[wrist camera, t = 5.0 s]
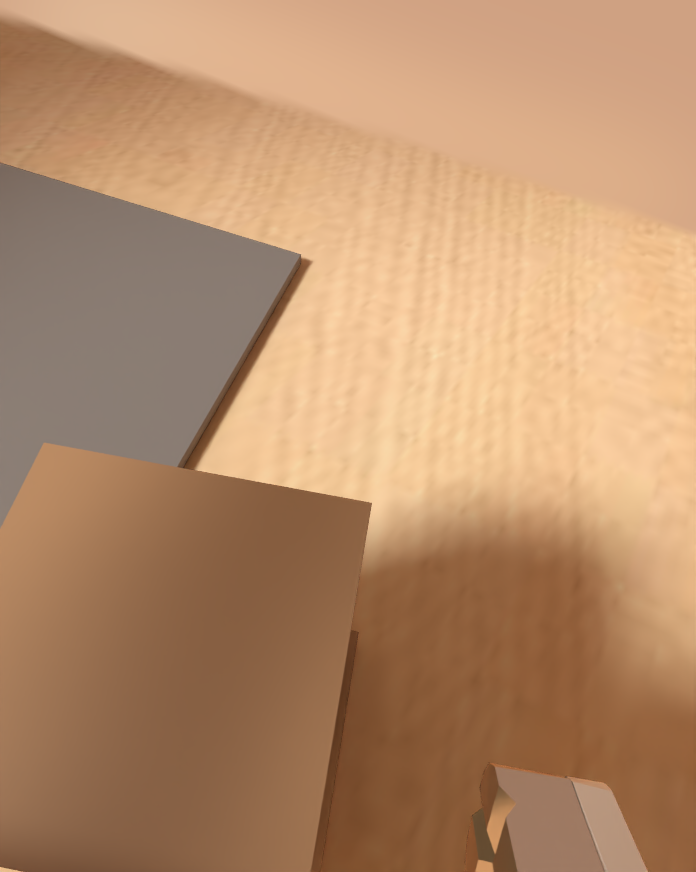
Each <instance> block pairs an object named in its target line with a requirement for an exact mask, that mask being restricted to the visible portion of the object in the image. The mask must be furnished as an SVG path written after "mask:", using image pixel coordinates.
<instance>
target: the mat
mask: <svg viewBox="0 0 696 872" xmlns="http://www.w3.org/2000/svg"><path fill="white" fill-rule="evenodd" d="M300 264H301V254H298V253H294V252H291V251H288V250H284V249H281V248H278V247H275V246H271V245H268V244H265V243H262V242H258V241H255V240H252V239H248V238H245V237H242V236H239V235H235V234H232V233H229V232H226V231H222V230H219V229H216V228H212V227H209V226H206V225H203V224H199V223H196V222H193V221H190V220H186V219H183V218H180V217H176V216H173V215H170V214H167V213H163V212H160V211H157V210H153V209H150V208H147V207H144V206H140V205H137V204H134V203H131V202H127V201H124V200H121V199H117V198H114V197H111V196H108V195H104V194H101V193H98V192H95V191H91V190H88V189H85V188H81V187H78V186H75V185H72V184H68V183H65V182H62V181H59V180H55V179H52V178H49V177H45V176H42V175H39V174H36V173H32V172H29V171H26V170H23V169H19V168H16V167H13V166H9V165H6V164H3V163H0V528H1V526H2V524H3V522H4V520H5V518H6V516H7V514H8V512H9V510H10V509H11V507H12V505H13V503H14V501H15V499H16V497H17V495H18V493H19V491H20V489H21V487H22V485H23V483H24V481H25V479H26V477H27V475H28V473H29V471H30V469H31V467H32V465H33V463H34V461H35V459H36V457H37V455H38V453H39V451H40V449H41V447H42V445H43V443H49V444H55V445H60V446H66V447H71V448H76V449H82V450H87V451H93V452H98V453H104V454H109V455H114V456H120V457H125V458H131V459H136V460H142V461H147V462H152V463H158V464H163V465H169V466H174V467H179V468H183V467H184V465H185V464H186V462H187V460H188V458H189V457H190V455H191V453H192V451H193V450H194V448H195V446H196V444H197V443H198V441H199V439H200V437H201V436H202V434H203V432H204V431H205V429H206V427H207V425H208V424H209V422H210V420H211V418H212V417H213V415H214V413H215V411H216V410H217V408H218V406H219V404H220V403H221V401H222V399H223V398H224V396H225V394H226V392H227V391H228V389H229V387H230V385H231V384H232V382H233V380H234V378H235V377H236V375H237V373H238V371H239V370H240V368H241V366H242V365H243V363H244V361H245V359H246V358H247V356H248V354H249V352H250V351H251V349H252V347H253V345H254V344H255V342H256V340H257V338H258V337H259V335H260V333H261V332H262V330H263V328H264V326H265V325H266V323H267V321H268V319H269V318H270V316H271V314H272V312H273V311H274V309H275V307H276V305H277V304H278V302H279V300H280V299H281V297H282V295H283V293H284V292H285V290H286V288H287V286H288V285H289V283H290V281H291V279H292V278H293V276H294V274H295V272H296V271H297V269H298V267H299V266H300Z"/></svg>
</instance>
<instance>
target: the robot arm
mask: <svg viewBox="0 0 696 872" xmlns="http://www.w3.org/2000/svg"><path fill="white" fill-rule="evenodd" d="M480 793H481V799H482V805H483V808H481V809H480V810H479V811H478V812H476V813H475V814H474V815H472V819H471V823H470V828H469V832H468V836H467V846H466V856H465V872H648V870H647V868H646V866H645V864H644V861H643V859H642V857H641V855H640V852H639V850H638V848H637V846H636V844H635V841H634V839H633V837H632V835H631V832H630V830H629V828H628V826H627V823H626V821H625V819H624V817H623V815H622V812H621V810H620V808H619V806H618V803H617V801H616V799H615V797H614V794H613V792H612V790H611V789H610V788H609V787H608V786H607V785H606V784H605V783H603V782H597V781H592V780H586V779H580V778H574V777H568V776H566V777H562V776H557V775H552V774H547V773H541V772H536V771H531V770H526V769H520V768H515V767H510V766H505V765H499V764H494V763H488V765H487V767H486V769H485V771H484V774H483V777H482V781H481V784H480Z"/></svg>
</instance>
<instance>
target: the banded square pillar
mask: <svg viewBox="0 0 696 872" xmlns="http://www.w3.org/2000/svg"><path fill="white" fill-rule="evenodd" d="M371 505H372V503H369V502H364V501H358V500H353V499H347V498H342V497H337V496H331V495H326V494H320V493H315V492H310V491H304V490H299V489H293V488H288V487H282V486H277V485H272V484H266V483H261V482H255V481H250V480H245V479H239V478H234V477H228V476H223V475H217V474H212V473H207V472H201V471H196V470H190V469H185V468H179V467H174V466H169V465H163V464H158V463H152V462H147V461H142V460H136V459H131V458H125V457H120V456H114V455H109V454H104V453H98V452H93V451H87V450H82V449H76V448H71V447H66V446H60V445H55V444H49V443H43V445H42V447H41V449H40V451H39V453H38V455H37V457H36V459H35V461H34V463H33V465H32V467H31V469H30V471H29V473H28V475H27V477H26V479H25V481H24V483H23V485H22V487H21V489H20V491H19V493H18V495H17V497H16V499H15V501H14V503H13V505H12V507H11V509H10V510H9V512H8V514H7V516H6V518H5V520H4V522H3V524H2V526H1V528H0V867H4V868H8V869H13V870H18V871H23V872H320V871H321V865H322V858H323V852H324V846H325V839H326V833H327V827H328V821H329V814H330V808H331V802H332V795H333V789H334V783H335V777H336V770H337V764H338V758H339V751H340V745H341V739H342V733H343V726H344V720H345V714H346V707H347V701H348V695H349V689H350V682H351V676H352V670H353V663H354V657H355V651H356V645H357V638H358V632H356V631H351V626H352V620H353V614H354V608H355V602H356V596H357V590H358V584H359V578H360V572H361V566H362V559H363V553H364V547H365V541H366V535H367V529H368V523H369V517H370V511H371Z"/></svg>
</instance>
